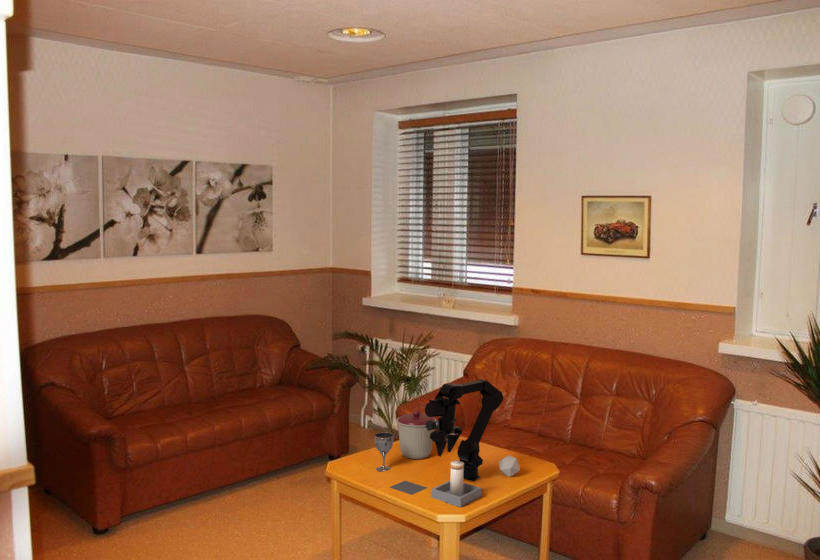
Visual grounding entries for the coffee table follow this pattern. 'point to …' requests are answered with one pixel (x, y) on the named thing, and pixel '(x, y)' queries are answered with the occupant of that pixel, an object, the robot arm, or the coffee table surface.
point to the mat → (408, 487)
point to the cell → (456, 478)
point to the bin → (444, 495)
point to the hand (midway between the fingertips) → (444, 454)
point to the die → (509, 465)
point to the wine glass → (383, 447)
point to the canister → (414, 435)
